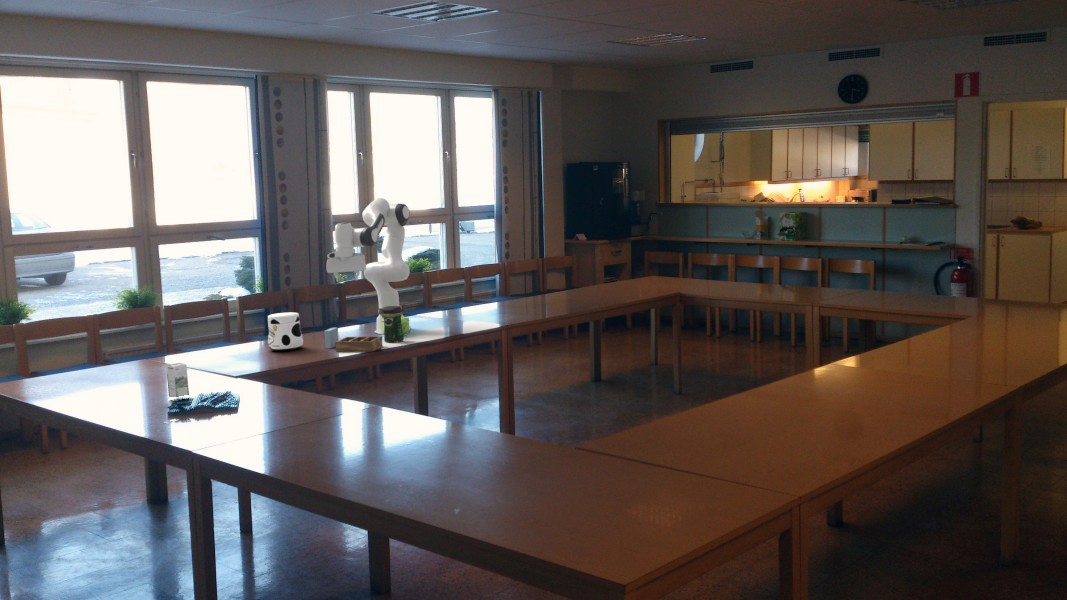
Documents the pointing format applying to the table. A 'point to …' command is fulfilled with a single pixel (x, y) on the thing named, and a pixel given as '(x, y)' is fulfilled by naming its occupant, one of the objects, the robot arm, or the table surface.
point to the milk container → (284, 332)
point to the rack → (358, 344)
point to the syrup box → (177, 379)
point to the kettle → (404, 325)
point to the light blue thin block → (331, 337)
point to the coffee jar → (392, 324)
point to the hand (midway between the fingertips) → (347, 280)
